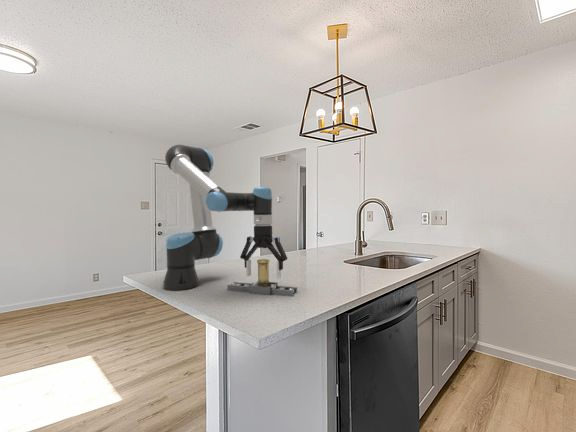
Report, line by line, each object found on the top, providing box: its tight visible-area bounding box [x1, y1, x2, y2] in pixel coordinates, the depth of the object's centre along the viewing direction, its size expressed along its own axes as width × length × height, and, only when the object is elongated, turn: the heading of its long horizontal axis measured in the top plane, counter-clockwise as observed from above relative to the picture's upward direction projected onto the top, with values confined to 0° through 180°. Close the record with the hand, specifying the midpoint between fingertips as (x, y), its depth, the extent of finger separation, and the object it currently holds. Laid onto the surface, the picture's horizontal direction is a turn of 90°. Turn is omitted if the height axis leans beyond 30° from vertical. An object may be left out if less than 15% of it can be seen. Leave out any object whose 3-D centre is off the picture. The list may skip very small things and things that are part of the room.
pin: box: [256, 258, 270, 287], centre depth 126 cm, size 5×5×13 cm
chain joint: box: [226, 280, 298, 297], centre depth 126 cm, size 29×8×3 cm, turn 70°
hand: (263, 276), depth 126 cm, fingers open, 13 cm apart
